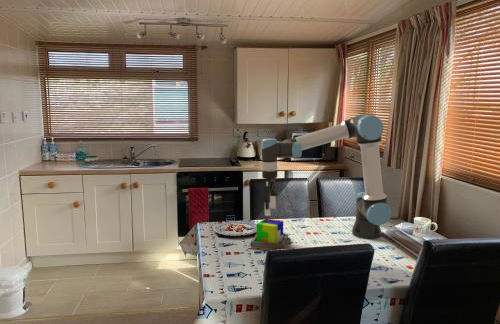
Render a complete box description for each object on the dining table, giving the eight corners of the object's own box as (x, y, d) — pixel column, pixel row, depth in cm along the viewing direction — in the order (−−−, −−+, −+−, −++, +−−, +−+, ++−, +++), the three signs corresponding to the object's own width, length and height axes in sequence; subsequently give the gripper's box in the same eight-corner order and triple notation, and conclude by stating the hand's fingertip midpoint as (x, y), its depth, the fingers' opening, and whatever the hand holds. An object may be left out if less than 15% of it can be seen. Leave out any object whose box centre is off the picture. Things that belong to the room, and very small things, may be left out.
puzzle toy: (283, 240, 196) (283, 221, 195) (274, 246, 187) (274, 226, 186) (265, 237, 201) (265, 218, 200) (256, 243, 192) (256, 223, 191)
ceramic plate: (206, 236, 208) (205, 231, 207) (224, 223, 232) (224, 218, 231) (251, 241, 199) (251, 235, 199) (265, 226, 223) (265, 221, 223)
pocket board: (256, 236, 205) (256, 231, 205) (290, 239, 201) (290, 233, 200) (248, 248, 188) (248, 242, 188) (284, 251, 184) (284, 245, 183)
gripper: (267, 166, 202) (268, 205, 205) (256, 174, 178) (257, 218, 181) (281, 166, 200) (282, 205, 203) (272, 174, 176) (273, 219, 179)
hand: (270, 211), depth 192 cm, fingers open, 13 cm apart
